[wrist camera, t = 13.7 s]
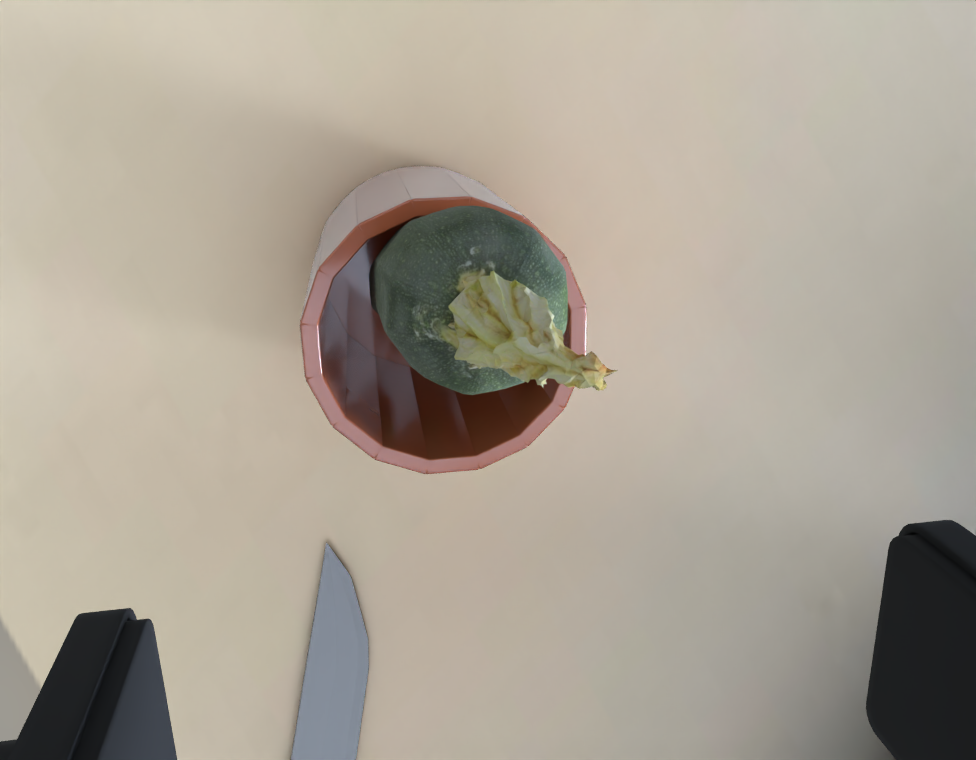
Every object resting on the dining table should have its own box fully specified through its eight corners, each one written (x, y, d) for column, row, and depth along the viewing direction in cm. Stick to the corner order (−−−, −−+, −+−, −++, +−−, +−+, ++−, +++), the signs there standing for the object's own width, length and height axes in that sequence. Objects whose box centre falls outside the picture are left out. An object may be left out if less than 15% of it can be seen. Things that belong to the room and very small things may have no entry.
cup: (324, 378, 35) (315, 484, 26) (306, 169, 33) (287, 204, 23) (525, 364, 36) (585, 461, 27) (522, 161, 34) (588, 191, 24)
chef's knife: (394, 544, 38) (325, 539, 38) (397, 557, 37) (326, 552, 36) (330, 885, 44) (269, 887, 43) (332, 905, 43) (268, 907, 42)
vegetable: (337, 266, 33) (343, 308, 14) (424, 192, 33) (552, 129, 14) (414, 354, 34) (519, 508, 15) (497, 281, 34) (713, 340, 15)
